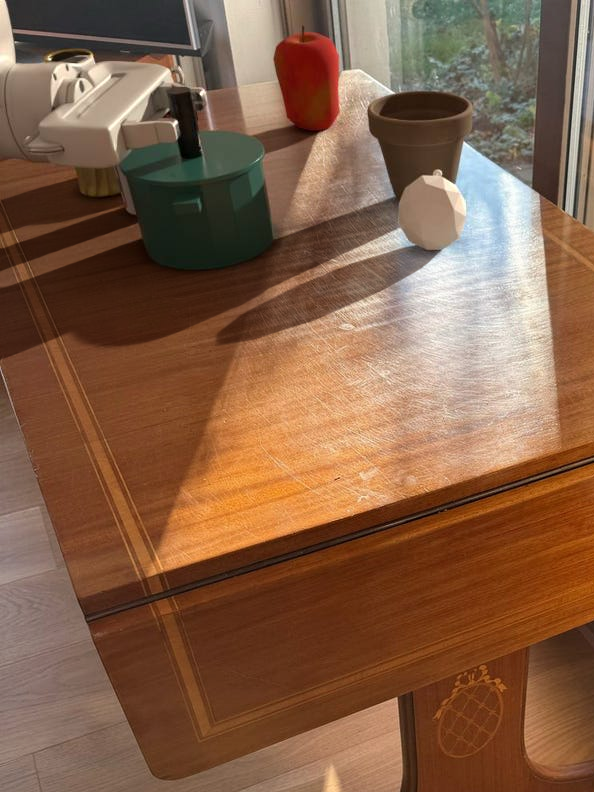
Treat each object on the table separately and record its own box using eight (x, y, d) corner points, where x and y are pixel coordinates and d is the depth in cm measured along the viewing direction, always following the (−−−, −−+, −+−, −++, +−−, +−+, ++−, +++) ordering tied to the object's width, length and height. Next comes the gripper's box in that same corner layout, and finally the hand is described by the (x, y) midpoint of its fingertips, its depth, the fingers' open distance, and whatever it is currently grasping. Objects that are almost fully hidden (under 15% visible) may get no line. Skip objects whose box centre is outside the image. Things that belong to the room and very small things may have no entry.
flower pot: (460, 175, 119) (457, 83, 111) (486, 211, 111) (485, 114, 104) (367, 187, 117) (357, 94, 109) (386, 224, 109) (378, 127, 102)
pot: (136, 286, 100) (111, 200, 94) (158, 212, 113) (138, 133, 107) (270, 276, 100) (255, 191, 94) (277, 204, 114) (263, 125, 108)
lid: (112, 198, 96) (89, 119, 91) (132, 145, 106) (113, 72, 101) (262, 187, 96) (248, 109, 91) (268, 137, 107) (256, 64, 102)
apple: (293, 114, 136) (279, 16, 128) (352, 115, 135) (341, 16, 127) (276, 135, 130) (259, 34, 122) (337, 137, 129) (325, 34, 121)
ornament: (384, 246, 105) (394, 168, 103) (448, 263, 107) (460, 186, 106) (403, 235, 98) (414, 151, 97) (471, 253, 101) (483, 171, 100)
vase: (69, 195, 117) (27, 61, 107) (100, 176, 121) (62, 45, 111) (112, 200, 116) (74, 65, 106) (142, 181, 120) (107, 49, 110)
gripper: (1, 114, 89) (149, 114, 88) (84, 50, 103) (212, 49, 102) (26, 186, 93) (167, 186, 92) (101, 115, 108) (224, 115, 107)
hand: (191, 114), depth 97 cm, fingers open, 8 cm apart
